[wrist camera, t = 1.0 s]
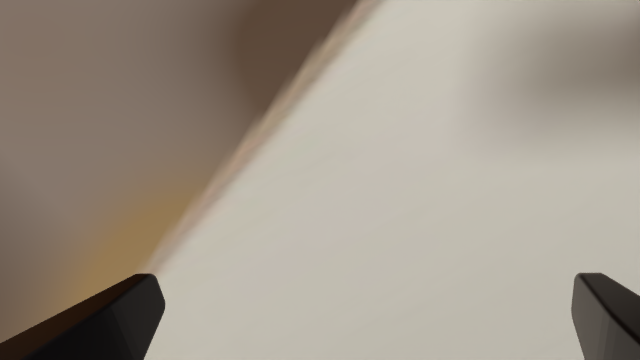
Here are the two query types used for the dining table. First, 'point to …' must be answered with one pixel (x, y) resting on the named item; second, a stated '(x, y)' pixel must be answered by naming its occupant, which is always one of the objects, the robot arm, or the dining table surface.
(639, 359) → the robot arm
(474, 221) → the dining table surface
